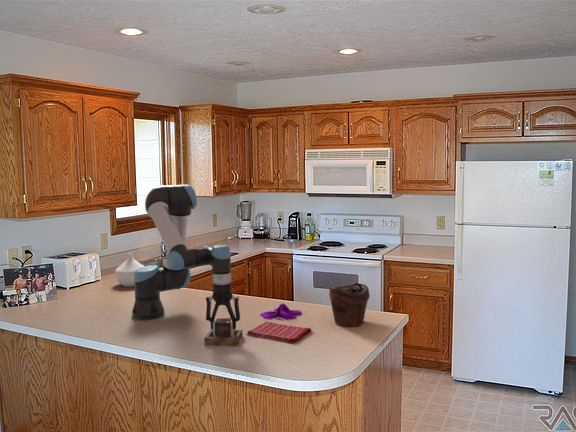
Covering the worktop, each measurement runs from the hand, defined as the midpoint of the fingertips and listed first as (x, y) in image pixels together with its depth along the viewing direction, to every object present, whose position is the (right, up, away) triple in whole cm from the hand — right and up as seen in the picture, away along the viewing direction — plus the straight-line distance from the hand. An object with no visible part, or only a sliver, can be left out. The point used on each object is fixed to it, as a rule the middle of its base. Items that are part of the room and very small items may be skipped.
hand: (223, 336), depth 223 cm
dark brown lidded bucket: (+55, +2, +20) cm, 58 cm away
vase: (-66, +9, +97) cm, 118 cm away
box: (0, -1, 0) cm, 1 cm away
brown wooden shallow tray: (0, -2, 0) cm, 2 cm away
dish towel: (+23, -1, +8) cm, 25 cm away
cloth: (+25, +2, +33) cm, 41 cm away
